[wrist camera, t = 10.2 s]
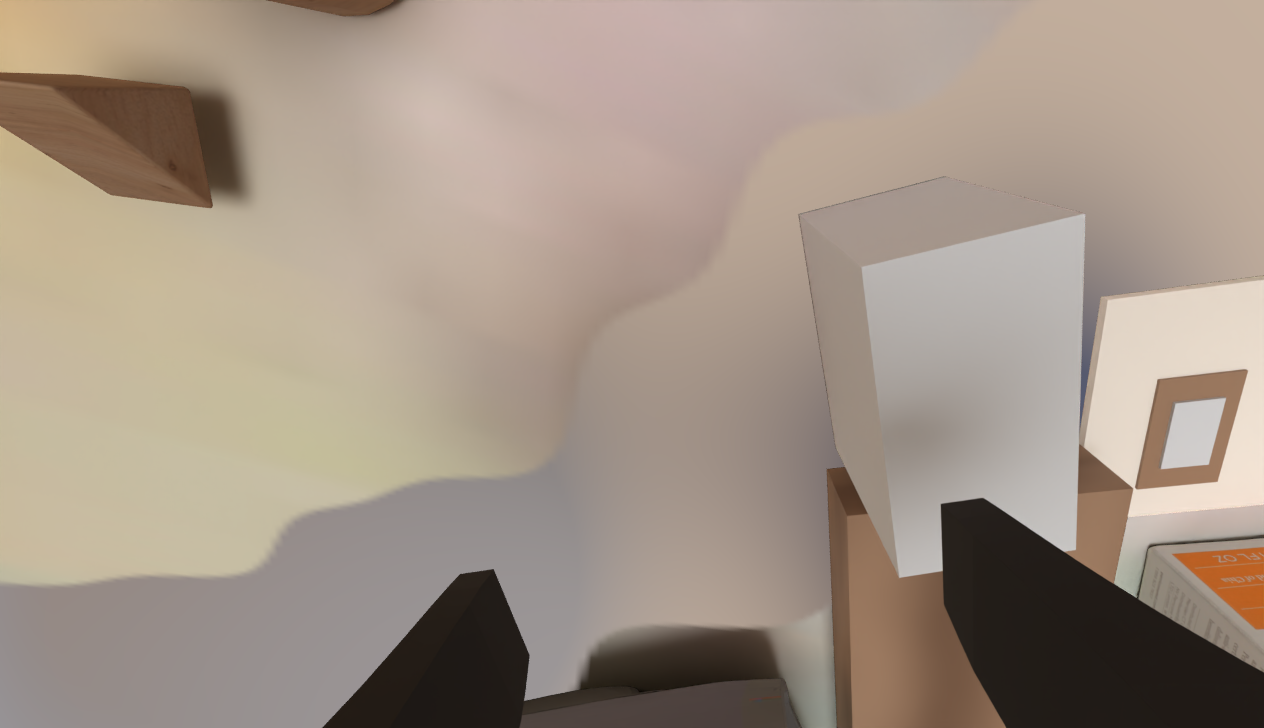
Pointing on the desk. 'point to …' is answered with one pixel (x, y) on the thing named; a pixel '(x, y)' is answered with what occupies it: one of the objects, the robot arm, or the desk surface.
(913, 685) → the base slab
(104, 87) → the wooden block set
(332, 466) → the desk surface
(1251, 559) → the skincare box
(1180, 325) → the cream rectangular panel
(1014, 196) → the brick
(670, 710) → the bluetooth speaker
